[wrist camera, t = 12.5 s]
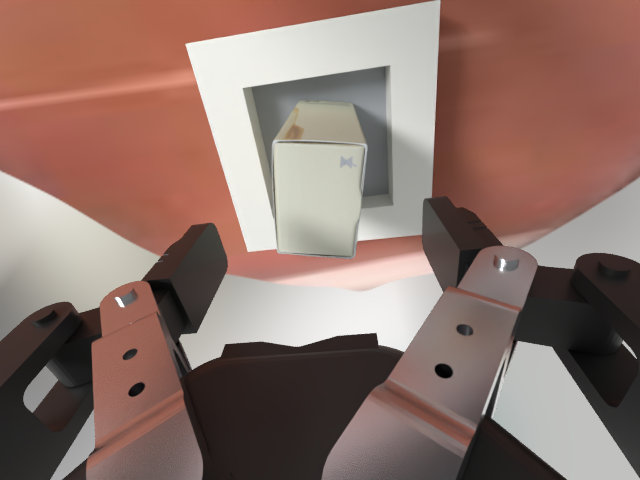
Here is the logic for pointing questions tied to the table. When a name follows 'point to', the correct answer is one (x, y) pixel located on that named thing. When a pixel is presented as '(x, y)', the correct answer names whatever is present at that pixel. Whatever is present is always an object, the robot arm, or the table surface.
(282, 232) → the skincare box
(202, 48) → the bottle stand
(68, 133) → the table surface
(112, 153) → the table surface
